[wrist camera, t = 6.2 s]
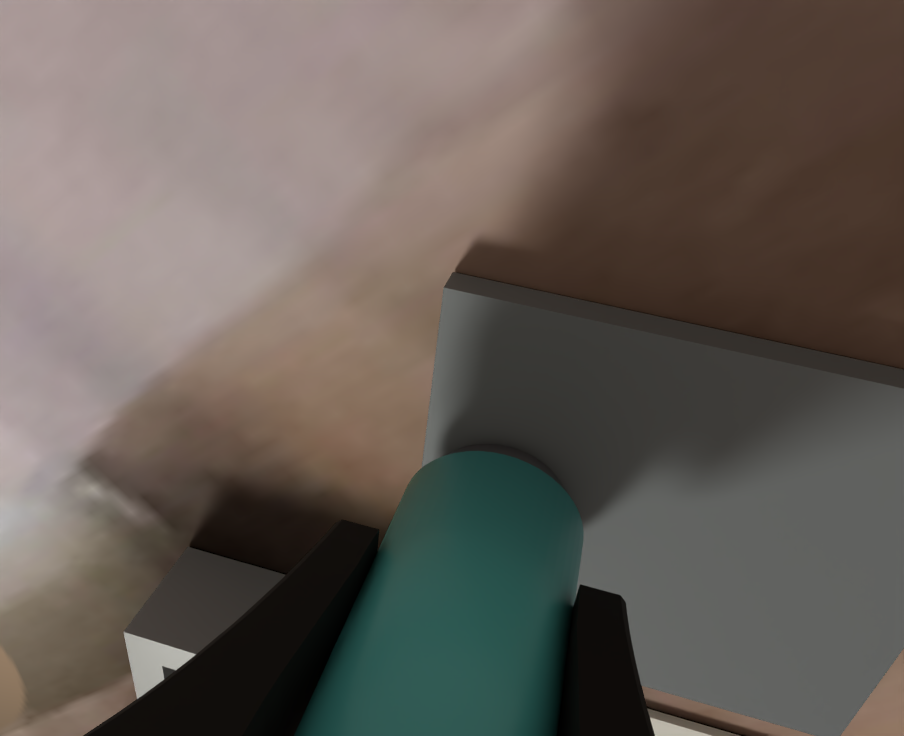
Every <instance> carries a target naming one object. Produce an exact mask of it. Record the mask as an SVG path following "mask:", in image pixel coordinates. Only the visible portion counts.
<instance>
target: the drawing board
mask: <svg viewBox="0 0 904 736" xmlns="http://www.w3.org/2000/svg"><path fill="white" fill-rule="evenodd" d="M477 444H495V445H502V446H507V447H511V448H514V449H518V450H520V451H523V452H525V453H527V454H529V455H531V456H533V457H535V458H536V459H538V460H539V461H541V462H542V463H544V464H545V465H546V466H547V467H548V468H549V469H551V470H552V472H553V473H554V474H555V475H556V476H557V477H558V479H559V480H560V482H561V483H562V485H563V487H564V489H565V491H566V492H567V493H568V494H569V496H570V497H571V499H572V500H573V502H574V503H575V505H576V507H577V509H578V511H579V514H580V517H581V520H582V524H583V530H584V536H583V547H582V554H581V562H580V569H579V577H578V584H577V591H576V596H577V593H578V589H579V586H580V584H581V585H585V586H589V587H592V588H596V589H600V590H603V591H607V592H611V593H614V594H618V595H621V596H622V598H623V599H624V601H625V602H626V608H627V616H628V623H629V629H630V635H631V640H632V646H633V651H634V656H635V660H636V665H637V669H638V673H639V678H640V682H641V686H645V687H648V688H652V689H655V690H659V691H662V692H666V693H669V694H673V695H676V696H680V697H683V698H687V699H690V700H694V701H697V702H701V703H704V704H707V705H711V706H714V707H718V708H721V709H725V710H728V711H732V712H735V713H739V714H742V715H746V716H749V717H753V718H756V719H760V720H763V721H767V722H770V723H773V724H777V725H780V726H784V727H787V728H791V729H794V730H798V731H801V732H805V733H808V734H812V735H815V736H841V734H842V733H843V731H844V730H845V729H846V727H847V726H848V724H849V723H850V722H851V720H852V719H853V718H854V716H855V715H856V713H857V712H858V711H859V709H860V708H861V707H862V705H863V704H864V702H865V701H866V700H867V698H868V697H869V695H870V694H871V693H872V691H873V690H874V689H875V687H876V686H877V684H878V683H879V682H880V680H881V679H882V678H883V676H884V675H885V673H886V672H887V671H888V669H889V668H890V666H891V665H892V664H893V662H894V661H895V660H896V658H897V657H898V655H899V654H900V653H901V651H902V650H903V649H904V369H899V368H894V367H890V366H885V365H881V364H876V363H871V362H867V361H862V360H857V359H853V358H848V357H844V356H839V355H834V354H830V353H825V352H820V351H816V350H811V349H807V348H802V347H797V346H793V345H788V344H783V343H779V342H774V341H770V340H765V339H760V338H756V337H751V336H746V335H742V334H737V333H733V332H728V331H723V330H719V329H714V328H709V327H705V326H700V325H696V324H691V323H686V322H682V321H677V320H672V319H668V318H663V317H659V316H654V315H649V314H645V313H640V312H635V311H631V310H626V309H622V308H617V307H612V306H608V305H603V304H598V303H594V302H589V301H584V300H580V299H575V298H571V297H566V296H561V295H557V294H552V293H547V292H543V291H538V290H534V289H529V288H524V287H520V286H515V285H510V284H506V283H501V282H497V281H492V280H487V279H483V278H478V277H473V276H469V275H464V274H460V273H455V272H453V273H452V275H451V276H450V278H449V280H448V281H447V283H446V285H445V286H444V290H443V298H442V306H441V314H440V323H439V331H438V339H437V347H436V355H435V364H434V372H433V380H432V388H431V396H430V405H429V413H428V421H427V429H426V437H425V445H424V454H423V462H422V468H423V467H424V466H425V465H426V464H428V463H430V462H432V461H433V460H435V459H437V458H440V457H442V456H445V455H448V454H449V453H451V452H453V451H455V450H457V449H460V448H462V447H466V446H470V445H477Z"/></svg>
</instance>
